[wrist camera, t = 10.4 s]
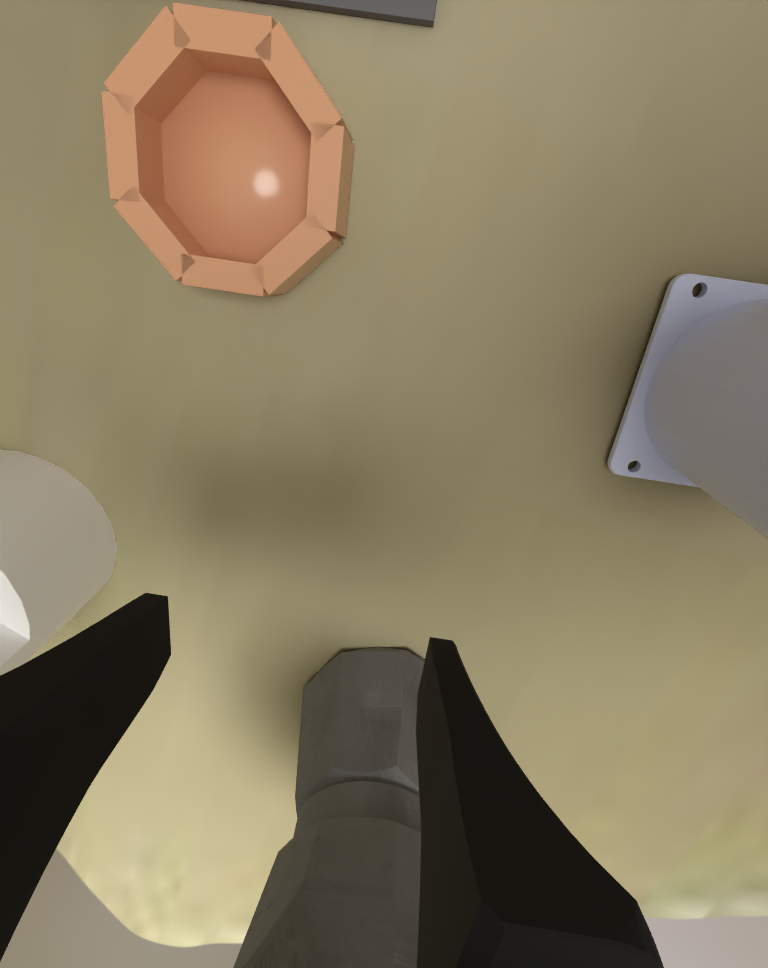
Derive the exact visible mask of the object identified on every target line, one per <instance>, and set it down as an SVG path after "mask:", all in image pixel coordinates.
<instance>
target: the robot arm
mask: <svg viewBox="0 0 768 968" xmlns="http://www.w3.org/2000/svg"><path fill="white" fill-rule="evenodd" d="M698 283H699V284H700V285H701V287H702V289H701V292H700V294H699V295H698V296H696V297H694V296H693V294H692V289H693V288H694V286H695V285H696V284H698ZM632 461H637V464H636V466H635V467H634V468H632V469H628V465H629V463H630V462H632ZM607 465H608V468H609V469H610V470H611V471H612V472H613V473H614V474H616V475H621V476H627V477H634V478H640V479H647V480H654V481H660V482H667V483H673V484H680V485H687V486H693V487H699V488H700V489H702V490H703V491H704V492H706V493H707V494H708V495H710V496H711V497H712V498H714V499H715V500H716V501H718V502H719V503H720V504H722V505H723V506H724V507H726V508H727V509H728V510H730V511H731V512H732V513H734V514H735V515H736V516H738V517H739V518H740V519H742V520H743V521H744V522H746V523H747V524H748V525H750V526H751V527H752V528H754V529H755V530H757V531H758V532H759V533H761V534H762V535H763V536H765V537H766V538H767V539H768V285H766V284H759V283H752V282H745V281H738V280H732V279H725V278H718V277H711V276H704V275H698V274H680V275H678V276H676V277H674V278H673V279H672V280H671V282H670V283H669V285H668V288H667V291H666V294H665V296H664V299H663V302H662V305H661V308H660V311H659V314H658V317H657V320H656V322H655V325H654V328H653V331H652V334H651V337H650V340H649V343H648V346H647V348H646V351H645V354H644V357H643V360H642V363H641V366H640V369H639V372H638V374H637V377H636V380H635V383H634V386H633V389H632V392H631V395H630V398H629V400H628V403H627V406H626V409H625V412H624V415H623V418H622V421H621V424H620V426H619V429H618V432H617V435H616V438H615V441H614V444H613V447H612V450H611V452H610V455H609V458H608V463H607ZM170 655H171V644H170V627H169V609H168V596H162V595H156V594H150V593H145V594H143V595H141V596H140V597H138V598H136V599H134V600H133V601H131V602H130V603H128V604H126V605H125V606H123V607H121V608H120V609H118V610H117V611H115V612H113V613H112V614H110V615H108V616H107V617H105V618H104V619H102V620H100V621H99V622H97V623H95V624H94V625H92V626H90V627H89V628H87V629H85V630H84V631H82V632H80V633H79V634H77V635H75V636H74V637H72V638H70V639H68V640H67V641H65V642H63V643H61V644H59V645H58V646H56V647H54V648H52V649H50V650H49V651H47V652H45V653H43V654H41V655H39V656H38V657H36V658H34V659H32V660H30V661H28V662H27V663H25V664H23V665H21V666H19V667H17V668H15V669H13V670H11V671H9V672H7V673H5V674H2V675H0V961H1V959H2V957H3V955H4V952H5V950H6V948H7V946H8V944H9V942H10V940H11V937H12V935H13V933H14V931H15V929H16V927H17V925H18V923H19V921H20V919H21V917H22V914H23V913H24V911H25V909H26V907H27V905H28V902H29V900H30V898H31V896H32V894H33V892H34V890H35V888H36V886H37V884H38V882H39V880H40V878H41V876H42V874H43V872H44V870H45V868H46V866H47V865H48V863H49V861H50V859H51V857H52V855H53V853H54V851H55V849H56V847H57V845H58V844H59V842H60V840H61V838H62V836H63V834H64V832H65V830H66V828H67V826H68V825H69V823H70V821H71V819H72V817H73V815H74V814H75V812H76V810H77V808H78V806H79V805H80V803H81V801H82V799H83V797H84V795H85V794H86V792H87V790H88V788H89V787H90V785H91V783H92V782H93V780H94V778H95V777H96V775H97V774H98V772H99V770H100V769H101V767H102V766H103V764H104V763H105V761H106V760H107V758H108V757H109V755H110V754H111V752H112V751H113V749H114V748H115V746H116V745H117V743H118V742H119V740H120V739H121V737H122V736H123V735H124V733H125V732H126V730H127V729H128V727H129V726H130V724H131V723H132V721H133V720H134V718H135V717H136V715H137V714H138V712H139V711H140V709H141V708H142V706H143V705H144V703H145V702H146V700H147V699H148V697H149V695H150V694H151V692H152V691H153V689H154V687H155V685H156V683H157V682H158V680H159V678H160V676H161V674H162V672H163V670H164V668H165V666H166V664H167V662H168V660H169V657H170ZM416 744H417V763H418V780H419V798H420V815H421V865H420V898H419V926H418V950H417V968H664V967H663V964H662V961H661V958H660V956H659V953H658V950H657V947H656V944H655V942H654V939H653V937H652V935H651V932H650V930H649V927H648V925H647V923H646V921H645V919H644V916H643V914H642V912H641V910H640V908H639V905H638V903H637V901H636V900H635V899H634V898H633V897H632V896H631V895H630V894H629V893H628V892H627V891H626V890H625V889H624V888H623V887H622V886H621V885H620V884H619V883H618V882H617V881H616V880H615V879H614V878H613V877H612V876H611V875H610V874H609V873H608V872H607V871H606V870H605V869H604V868H603V867H602V866H601V865H600V864H599V863H598V862H597V861H596V860H595V859H594V858H593V857H592V856H591V855H590V854H589V852H588V851H587V850H586V849H585V848H584V847H583V846H582V845H581V844H580V842H579V841H578V840H577V839H576V838H575V837H574V836H573V835H572V834H571V833H570V831H569V830H568V829H567V828H566V827H565V825H564V824H563V823H562V822H561V820H560V819H559V818H558V817H557V815H556V814H555V813H554V812H553V811H552V809H551V808H550V807H549V806H548V804H547V803H546V802H545V801H544V800H543V798H542V797H541V796H540V794H539V793H538V792H537V790H536V789H535V788H534V786H533V785H532V784H531V782H530V781H529V779H528V778H527V777H526V775H525V774H524V772H523V771H522V770H521V768H520V767H519V765H518V764H517V762H516V761H515V759H514V758H513V756H512V755H511V753H510V752H509V750H508V748H507V747H506V745H505V744H504V742H503V740H502V739H501V737H500V735H499V734H498V732H497V730H496V729H495V727H494V725H493V723H492V722H491V720H490V718H489V716H488V714H487V713H486V711H485V709H484V707H483V705H482V703H481V701H480V699H479V697H478V695H477V693H476V691H475V689H474V687H473V685H472V683H471V681H470V679H469V676H468V674H467V672H466V670H465V667H464V665H463V663H462V660H461V658H460V655H459V653H458V650H457V647H456V645H455V643H454V642H453V641H451V640H445V639H439V638H432V637H430V640H429V644H428V649H427V653H426V658H425V662H424V667H423V671H422V676H421V680H420V685H419V689H418V697H417V716H416Z"/></svg>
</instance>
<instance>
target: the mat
mask: <svg viewBox="0 0 768 968" xmlns="http://www.w3.org/2000/svg"><path fill="white" fill-rule="evenodd" d="M246 1H253V2H260V3H267V4H274V5H281V6H288V7H295V8H302V9H309V10H316V11H324V12H331V13H338V14H345V15H352V16H359V17H366V18H373V19H380V20H387V21H394V22H401V23H408V24H415V25H422V26H429V27H433V24H434V16H435V9H436V2H437V0H246Z"/></svg>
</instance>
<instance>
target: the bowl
mask: <svg viewBox="0 0 768 968" xmlns="http://www.w3.org/2000/svg"><path fill="white" fill-rule="evenodd" d="M104 84H105V85H106V87H107V88H108V89H109V91H110V92H111V93H110V92H103V91H102V103H103V115H104V127H105V139H106V151H107V163H108V175H109V188H110V199H114V200H118V202H117V203H116V204H115V205H114V207H115V208H116V210H117V211H118V212H119V213H120V214H121V216H122V217H123V218H124V219H125V220H126V222H127V223H128V224H129V225H130V226H131V228H132V229H133V230H134V231H135V232H136V234H137V235H138V236H139V237H140V238H141V240H142V241H143V242H144V243H145V244H146V245H147V247H148V248H149V249H150V250H151V251H152V253H153V254H154V255H155V256H156V257H157V259H158V260H159V261H160V262H161V263H162V265H163V266H164V267H165V268H166V269H167V271H168V272H169V273H170V274H171V275H172V277H173V278H174V279H175V280H176V281H182V285H189V286H196V287H202V288H209V289H216V290H223V291H229V292H236V293H243V294H250V295H256V296H273V295H282V293H288V292H289V291H290V290H291V289H292V288H293V287H295V286H296V285H297V284H298V283H299V282H300V281H301V280H302V279H304V278H305V277H306V276H307V275H308V274H309V273H310V272H311V271H313V270H314V269H315V268H316V267H317V266H318V265H319V264H321V263H322V262H323V261H324V260H325V259H326V258H327V257H328V256H330V255H331V254H332V253H333V252H334V251H335V250H336V249H337V248H339V247H340V246H341V245H342V244H343V242H342V241H341V240H340V238H339V237H345V238H346V233H347V222H348V211H349V200H350V189H351V178H352V167H353V156H354V145H353V143H352V140H353V139H352V137H351V135H350V133H349V131H348V129H347V127H346V125H345V123H344V121H343V119H342V117H341V115H340V114H339V112H338V111H337V109H336V108H335V106H334V105H333V103H332V102H331V100H330V99H329V97H328V96H327V94H326V92H325V91H324V89H323V88H322V86H321V85H320V83H319V82H318V80H317V79H316V77H315V76H314V74H313V73H312V71H311V70H310V68H309V67H308V65H307V63H306V62H305V60H304V59H303V57H302V56H301V54H300V53H299V51H298V50H297V48H296V47H295V45H294V44H293V42H292V41H291V39H290V38H289V36H288V35H287V33H286V31H285V30H284V28H283V27H282V25H281V24H280V22H278V23H277V24H276V23H275V21H274V19H273V18H272V16H265V15H257V14H250V13H243V12H236V11H229V10H222V9H215V8H208V7H201V6H194V5H187V4H180V3H173V12H172V11H171V10H170V9H169V8H168V7H167V6H165V7H164V9H163V10H162V11H161V12H160V14H159V15H158V16H157V17H156V19H155V20H154V21H153V22H152V24H151V25H150V26H149V27H148V29H147V30H146V31H145V32H144V34H143V35H142V36H141V37H140V39H139V40H138V41H137V42H136V44H135V45H134V46H133V47H132V49H131V50H130V51H129V52H128V53H127V55H126V56H125V57H124V58H123V60H122V61H121V62H120V63H119V65H118V66H117V67H116V68H115V70H114V71H113V72H112V73H111V75H110V76H109V77H108V78H107V80H106V81H105V82H104Z"/></svg>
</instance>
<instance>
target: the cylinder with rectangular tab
mask: <svg viewBox="0 0 768 968" xmlns="http://www.w3.org/2000/svg"><path fill="white" fill-rule="evenodd" d="M116 553H117V546H116V541H115V537H114V532H113V528H112V526H111V524H110V522H109V520H108V518H107V516H106V514H105V512H104V510H103V508H102V506H101V505H100V504H99V503H98V501H97V500H96V499H95V498H94V497H93V495H92V494H91V493H90V492H89V490H88V489H87V488H86V487H85V486H84V485H82V484H81V483H80V482H79V481H78V480H76V479H75V478H74V477H73V476H71V475H70V474H69V473H68V472H67V471H65V470H63V469H61V468H60V467H58V466H56V465H54V464H52V463H50V462H48V461H47V460H45V459H43V458H40V457H36V456H33V455H30V454H26V453H23V452H19V451H8V450H0V675H2V674H5V673H7V672H9V671H11V670H13V669H15V668H17V667H19V666H21V665H23V664H25V663H26V662H27V661H28V660H29V659H30V658H31V657H32V656H33V655H34V654H35V653H36V652H37V651H38V650H39V649H40V648H41V647H42V646H43V645H44V644H45V643H46V642H47V641H48V640H49V639H50V638H52V637H53V636H54V635H55V634H56V633H57V632H58V631H59V630H60V629H61V628H62V627H63V626H64V625H65V624H66V623H67V622H68V621H69V620H70V619H71V618H72V617H73V616H74V615H75V614H76V613H77V612H78V611H79V610H80V609H81V608H82V607H83V606H84V605H85V604H86V603H88V602H89V601H90V600H91V599H92V598H93V597H94V596H95V595H96V594H97V593H98V592H99V591H100V590H101V589H102V588H103V587H104V586H105V585H106V584H107V583H108V582H109V580H110V577H111V575H112V573H113V571H114V568H115V566H116Z"/></svg>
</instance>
